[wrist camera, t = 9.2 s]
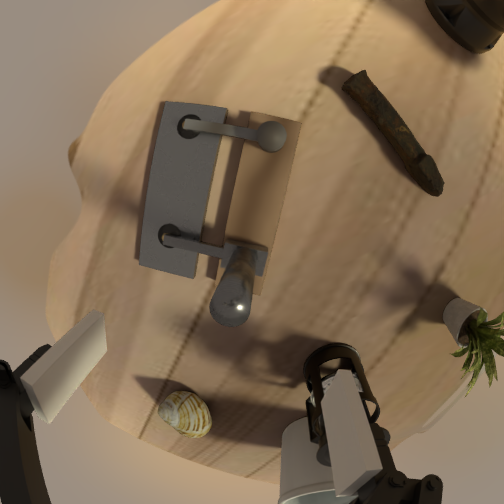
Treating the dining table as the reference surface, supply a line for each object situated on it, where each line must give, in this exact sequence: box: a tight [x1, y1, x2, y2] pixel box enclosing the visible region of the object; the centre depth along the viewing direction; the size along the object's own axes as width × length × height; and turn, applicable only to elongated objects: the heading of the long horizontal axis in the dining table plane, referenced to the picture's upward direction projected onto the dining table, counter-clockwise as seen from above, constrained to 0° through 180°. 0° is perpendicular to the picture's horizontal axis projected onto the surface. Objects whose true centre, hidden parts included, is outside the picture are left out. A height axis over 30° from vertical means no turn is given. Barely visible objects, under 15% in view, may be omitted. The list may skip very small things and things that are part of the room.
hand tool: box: [342, 70, 444, 197], centre depth 28 cm, size 19×4×5 cm, turn 39°
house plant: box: [443, 298, 504, 397], centre depth 28 cm, size 14×14×16 cm
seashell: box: [158, 391, 212, 438], centre depth 41 cm, size 10×10×10 cm
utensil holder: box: [278, 417, 358, 504], centre depth 36 cm, size 15×15×18 cm
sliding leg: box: [162, 233, 268, 327], centre depth 27 cm, size 13×3×14 cm, turn 78°
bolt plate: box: [139, 101, 228, 279], centre depth 33 cm, size 8×22×1 cm, turn 168°
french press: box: [303, 343, 390, 496], centre depth 29 cm, size 12×9×23 cm
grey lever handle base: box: [182, 112, 302, 295], centre depth 31 cm, size 14×22×6 cm, turn 168°
